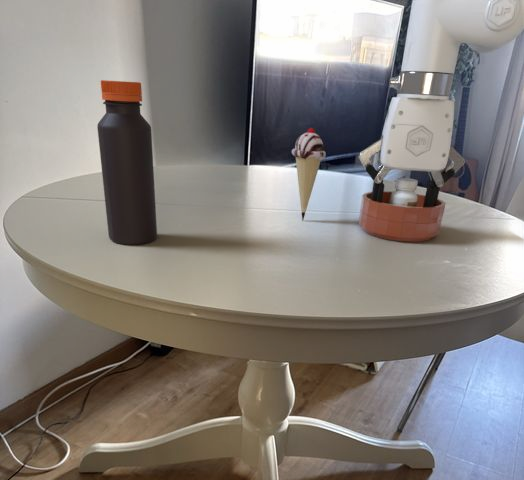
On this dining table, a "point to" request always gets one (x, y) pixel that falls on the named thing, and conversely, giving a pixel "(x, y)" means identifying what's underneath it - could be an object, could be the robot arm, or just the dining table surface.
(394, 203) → the pill bottle
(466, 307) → the dining table surface
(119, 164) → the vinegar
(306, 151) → the ice cream cone
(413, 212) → the bowl
